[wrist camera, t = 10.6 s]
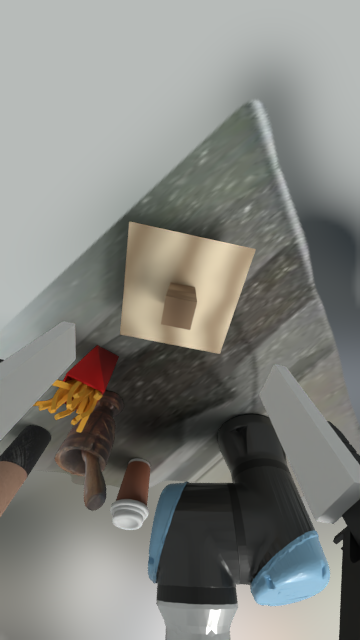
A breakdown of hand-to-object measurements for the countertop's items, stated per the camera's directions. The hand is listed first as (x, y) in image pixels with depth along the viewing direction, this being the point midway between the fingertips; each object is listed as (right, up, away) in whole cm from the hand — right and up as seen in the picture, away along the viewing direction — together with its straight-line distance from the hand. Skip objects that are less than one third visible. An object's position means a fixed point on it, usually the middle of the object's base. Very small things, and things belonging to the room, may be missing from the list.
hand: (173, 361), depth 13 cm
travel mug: (-37, -28, +38) cm, 60 cm away
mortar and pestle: (-15, -15, +32) cm, 38 cm away
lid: (+1, +7, +14) cm, 16 cm away
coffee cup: (-11, -39, +42) cm, 58 cm away
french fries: (-16, -4, +27) cm, 31 cm away
